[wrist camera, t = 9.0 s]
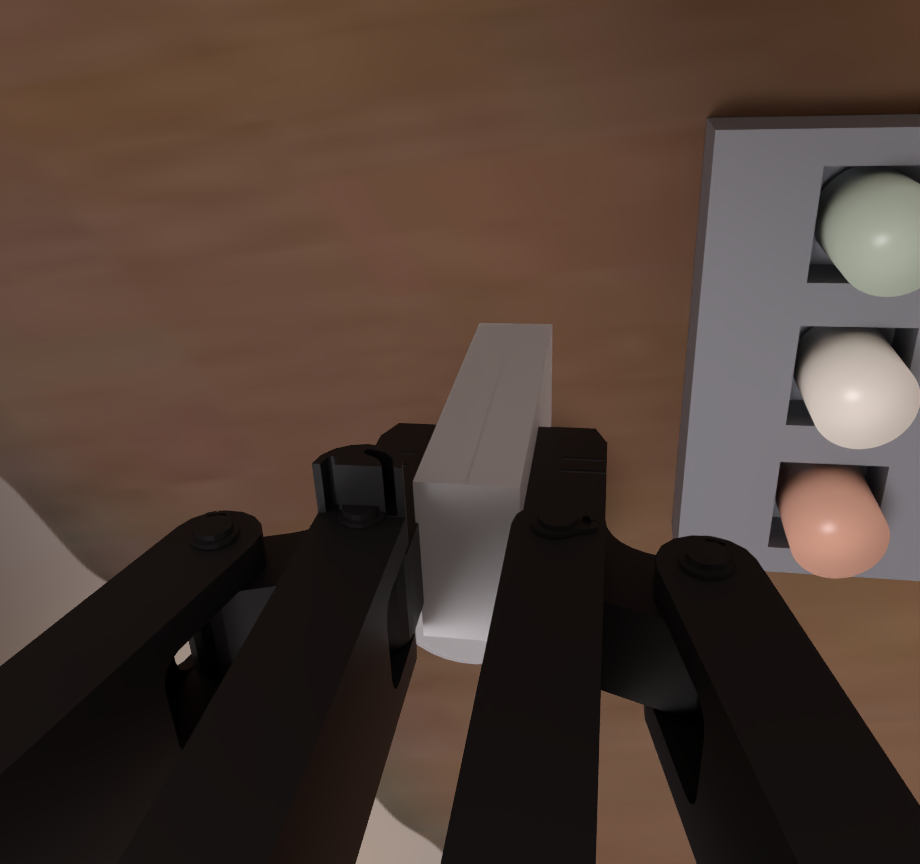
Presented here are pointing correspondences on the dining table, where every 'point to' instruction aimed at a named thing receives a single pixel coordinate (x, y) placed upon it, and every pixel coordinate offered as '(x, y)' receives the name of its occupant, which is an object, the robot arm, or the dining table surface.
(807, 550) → the button terracotta
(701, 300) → the console
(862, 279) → the button sage
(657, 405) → the dining table surface
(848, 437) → the button cream
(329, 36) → the dining table surface
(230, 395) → the dining table surface
